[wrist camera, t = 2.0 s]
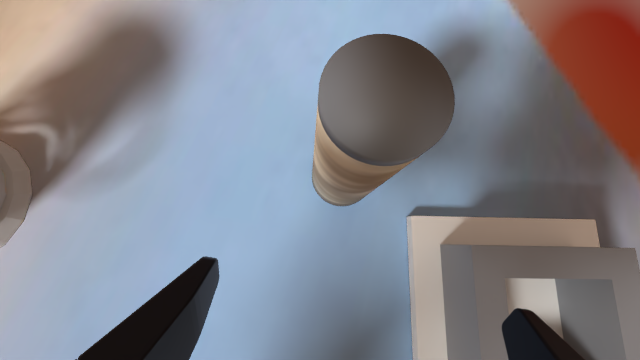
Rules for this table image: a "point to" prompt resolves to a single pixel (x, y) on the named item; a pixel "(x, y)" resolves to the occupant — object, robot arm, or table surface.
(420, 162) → the table surface
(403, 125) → the rail post
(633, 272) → the post socket
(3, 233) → the french press
